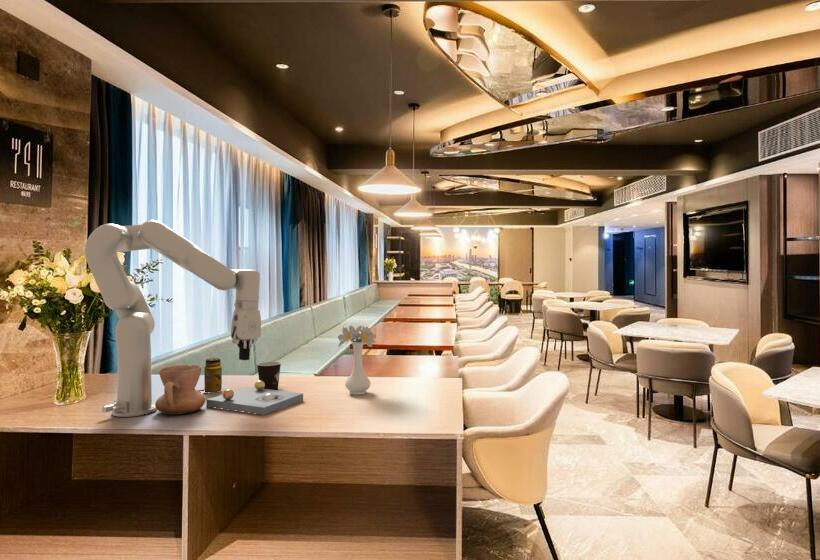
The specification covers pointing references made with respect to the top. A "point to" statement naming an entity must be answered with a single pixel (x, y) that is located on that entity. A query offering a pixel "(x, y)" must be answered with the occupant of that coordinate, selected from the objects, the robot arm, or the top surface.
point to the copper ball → (228, 394)
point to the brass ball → (259, 385)
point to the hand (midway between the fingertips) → (244, 359)
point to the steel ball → (269, 397)
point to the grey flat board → (256, 400)
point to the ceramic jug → (180, 389)
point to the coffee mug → (269, 374)
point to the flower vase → (357, 357)
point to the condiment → (212, 375)
